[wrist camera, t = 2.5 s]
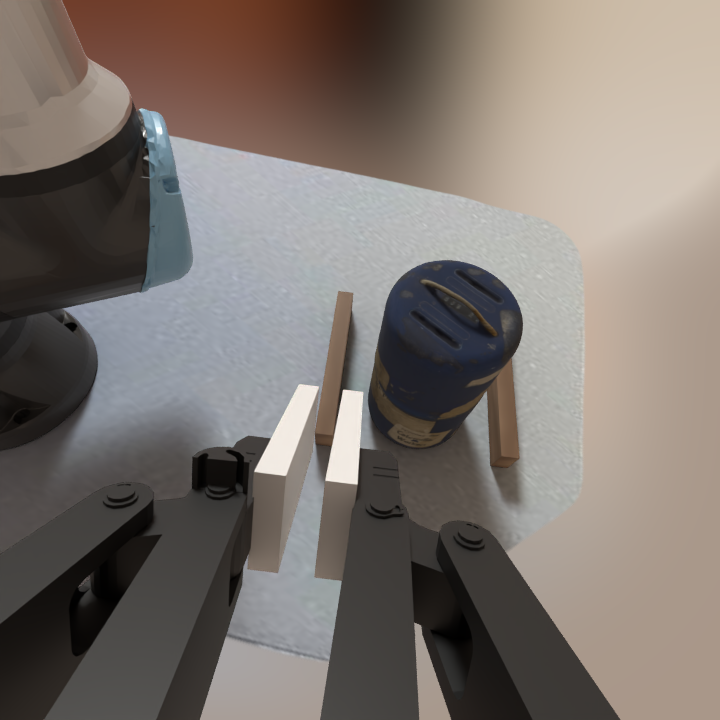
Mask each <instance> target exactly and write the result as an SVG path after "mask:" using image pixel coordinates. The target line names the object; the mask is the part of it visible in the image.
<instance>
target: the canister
mask: <svg viewBox="0 0 720 720" xmlns="http://www.w3.org/2000/svg"><path fill="white" fill-rule="evenodd" d="M522 330H523V321H522V314H521V310H520V308H519V305H518V303H517V300H516V299H515V297H514V295H513V294H512V293H511V291H510V290H509V289H508V288H507V286H506V285H504V284H503V283H502V282H501V281H500V280H499V279H498V278H497V277H495V276H494V275H492V274H491V273H489V272H488V271H486V270H484V269H482V268H480V267H477V266H475V265H472V264H468V263H464V262H459V261H452V260H442V261H433V262H428V263H424V264H422V265H419V266H417V267H415V268H413V269H411V270H410V271H408V272H407V273H406V274H404V275H403V276H402V277H401V278H400V279H399V280H398V281H397V282H396V284H395V285H394V287H393V288H392V290H391V292H390V294H389V297H388V299H387V303H386V307H385V311H384V316H383V321H382V326H381V330H380V334H379V339H378V344H377V349H376V353H375V363H374V368H373V373H372V378H371V383H370V388H369V394H368V405H369V411H370V414H371V417H372V419H373V421H374V423H375V424H376V426H377V427H378V429H379V430H380V431H381V432H382V433H383V434H384V435H385V436H386V437H387V438H389V439H390V440H392V441H393V442H395V443H397V444H399V445H402V446H405V447H409V448H416V449H423V448H430V447H434V446H437V445H439V444H441V443H443V442H445V441H446V440H448V439H449V438H450V437H451V436H452V435H453V434H454V433H455V432H456V431H457V429H458V428H459V426H460V425H461V423H462V422H463V421H464V419H465V418H466V417H467V416H468V415H469V414H470V413H471V411H472V410H473V409H474V408H475V406H476V405H477V404H478V402H479V401H480V399H481V398H482V396H483V395H484V393H485V392H486V391H487V389H488V388H489V387H490V385H491V384H492V383H493V381H494V380H495V379H496V377H497V376H498V375H499V373H500V372H501V371H502V369H503V368H504V367H505V366H506V364H507V363H508V362H509V360H510V359H511V357H512V356H513V355H514V353H515V352H516V350H517V348H518V346H519V343H520V340H521V336H522Z"/></svg>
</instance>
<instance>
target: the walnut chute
mask: <svg viewBox="0 0 720 720" xmlns="http://www.w3.org/2000/svg"><path fill="white" fill-rule="evenodd" d="M352 302H353V293H349V292H341V291H338V296H337V302H336V308H335V314H334V320H333V326H332V332H331V338H330V344H329V350H328V357H327V363H326V369H325V375H324V381H323V387H322V393H321V399H320V405H319V411H318V417H317V423H316V429H315V443H316V444H317V445H326V446H332V444H333V439H334V432H335V425H336V418H337V411H338V404H339V397H340V390H341V383H342V376H343V369H344V362H345V354H346V347H347V340H348V333H349V326H350V319H351V312H352ZM487 400H488V422H489V444H490V466H496V467H504V468H508V467H509V466H510V465H512V464H513V463H514V462H515V461H517V460H518V459H519V446H518V434H517V421H516V409H515V396H514V384H513V371H512V359H510V360H509V362H508V363H507V364H506V366H505V367H504V368H503V369H502V371H501V372H500V373H499V375H498V376H497V377H496V379H495V380H494V381H493V383H492V384H491V385H490V387H489V388H488V389H487Z"/></svg>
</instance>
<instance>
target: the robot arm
mask: <svg viewBox="0 0 720 720" xmlns="http://www.w3.org/2000/svg"><path fill="white" fill-rule="evenodd" d="M192 263H193V253H192V245H191V239H190V234H189V228H188V223H187V218H186V213H185V208H184V203H183V199H182V194H181V190H180V188H179V181H178V176H177V172H176V165H175V161H174V156H173V152H172V147H171V143H170V139H169V135H168V131H167V128H166V124H165V121H164V119H163V117H162V116H161V115H160V114H159V113H157V112H153V111H148V110H146V109H145V110H143V109H139V111H136V109H135V106H134V103H133V101H132V98H131V96H130V93H129V91H128V88H127V87H126V85H125V84H124V83H123V81H122V80H121V79H120V78H119V77H118V76H116V75H115V74H113V73H112V72H110V71H109V70H106V69H105V68H103V67H101V66H100V65H98V64H97V63H95V62H93V61H91V60H90V59H88V58H87V57H86V55H85V54H84V51H83V49H82V47H81V44H80V42H79V40H78V37H77V35H76V33H75V30H74V28H73V26H72V23H71V21H70V19H69V16H68V14H67V12H66V10H65V7H64V5H63V2H62V0H0V450H5V449H9V448H13V447H16V446H20V445H22V444H25V443H27V442H30V441H32V440H34V439H36V438H38V437H40V436H42V435H44V434H46V433H47V432H49V431H50V430H52V429H53V428H55V427H56V426H57V425H59V424H60V423H61V422H63V421H64V420H65V419H66V418H67V417H68V416H69V415H70V414H71V413H72V412H73V411H74V410H75V409H76V408H77V407H78V406H79V404H80V403H81V402H82V400H83V399H84V398H85V396H86V394H87V393H88V391H89V389H90V387H91V385H92V383H93V380H94V377H95V374H96V369H97V351H96V347H95V344H94V341H93V339H92V338H91V336H90V334H89V333H88V332H87V331H86V330H85V328H84V327H83V326H82V325H81V324H80V323H79V322H78V320H77V319H76V318H75V317H73V316H72V315H71V314H70V313H68V312H67V311H65V310H64V309H62V308H67V307H71V306H76V305H81V304H85V303H90V302H94V301H99V300H104V299H108V298H113V297H118V296H122V295H127V294H131V293H136V292H140V293H142V292H145V291H147V290H148V289H149V288H151V287H155V286H158V285H162V284H165V283H168V282H172V281H175V280H178V279H180V278H182V277H183V276H184V275H185V274H186V273H188V272H189V270H190V268H191V266H192ZM318 393H319V387H318V386H310V385H302V384H299V386H298V388H297V390H296V391H295V393H294V395H293V397H292V399H291V401H290V403H289V405H288V407H287V409H286V411H285V413H284V415H283V417H282V419H281V420H280V422H279V424H278V426H277V428H276V430H275V432H274V434H273V436H272V438H263V437H255V436H247V437H245V438H243V439H242V440H240V441H238V442H237V443H236V444H235V446H234V447H233V448H231V447H214V448H208V449H205V450H203V451H200V452H198V453H197V454H196V455H194V456H193V461H192V489H191V490H190V492H189V494H188V495H187V497H184V498H179V499H170V500H157V501H154V492H153V491H152V489H151V488H150V487H148V486H146V485H144V484H141V483H132V482H126V483H124V482H123V483H117V484H114V485H110V486H107V487H104V488H102V489H100V490H98V491H96V492H95V493H93V494H92V495H90V496H88V497H87V498H85V499H84V500H82V501H81V502H79V503H78V504H76V505H75V506H73V507H72V508H70V509H69V510H67V511H66V512H64V513H63V514H61V515H59V516H58V517H56V518H55V519H53V520H52V521H50V522H49V523H47V524H46V525H44V526H43V527H41V528H40V529H38V530H37V531H35V532H34V533H32V534H30V535H29V536H27V537H26V538H24V539H23V540H21V541H20V542H18V543H17V544H15V545H14V546H12V547H11V548H9V549H8V550H6V551H5V552H3V553H1V554H0V720H200V717H201V714H202V710H203V707H204V704H205V701H206V698H207V695H208V691H209V688H210V685H211V682H212V679H213V675H214V672H215V669H216V666H217V663H218V659H219V656H220V653H221V650H222V647H223V643H224V640H225V637H226V634H227V631H228V628H229V624H230V621H231V618H232V615H233V612H234V609H235V605H236V602H237V599H238V596H239V593H240V589H241V586H242V578H243V566H244V564H245V561H246V559H247V556H248V554H249V556H248V569H250V570H258V571H267V572H275V573H278V570H279V567H280V563H281V560H282V556H283V553H284V549H285V546H286V542H287V539H288V535H289V532H290V528H291V525H292V521H293V518H294V514H295V511H296V507H297V504H298V501H299V497H300V494H301V490H302V487H303V483H304V480H305V476H306V473H307V469H308V466H309V462H310V459H311V455H312V452H313V442H314V432H315V422H316V412H317V403H318ZM362 402H363V392H358V391H350V390H343V394H342V399H341V404H340V409H339V414H338V419H337V424H336V429H335V434H334V439H333V444H332V449H331V454H330V459H329V464H328V469H327V475H326V480H325V488H324V497H323V505H322V514H321V523H320V532H319V541H318V550H317V559H316V568H315V577H316V578H324V579H332V580H341V581H342V584H341V591H340V597H339V603H338V610H337V616H336V623H335V629H334V635H333V642H332V648H331V655H330V661H329V667H328V674H327V681H326V687H325V693H324V700H323V706H322V712H321V718H320V720H419V708H418V690H417V671H416V670H417V669H416V650H415V630H414V622H415V623H417V624H419V625H421V627H422V635H423V637H424V640H425V643H426V646H427V649H428V652H429V655H430V658H431V661H432V664H433V667H434V670H435V673H436V676H437V679H438V682H439V685H440V688H441V690H442V693H443V696H444V699H445V702H446V705H447V708H448V711H449V714H450V717H451V720H620V718H619V717H618V716H617V714H616V713H615V711H614V710H613V708H612V707H611V705H610V704H609V703H608V701H607V700H606V698H605V697H604V695H603V694H602V692H601V691H600V690H599V688H598V686H597V685H596V684H595V682H594V681H593V679H592V678H591V676H590V675H589V673H588V672H587V670H586V669H585V668H584V666H583V665H582V663H581V662H580V660H579V659H578V657H577V656H576V654H575V653H574V651H573V650H572V649H571V647H570V646H569V644H568V643H567V641H566V640H565V638H564V637H563V635H562V634H561V633H560V631H559V630H558V628H557V627H556V625H555V624H554V622H553V621H552V619H551V618H550V616H549V615H548V614H547V612H546V611H545V609H544V608H543V606H542V605H541V603H540V602H539V601H538V599H537V598H536V596H535V595H534V593H533V592H532V590H531V589H530V587H529V586H528V584H527V583H526V582H525V580H524V579H523V577H522V576H521V574H520V573H519V571H518V570H517V568H516V567H515V566H514V564H513V563H512V561H511V560H510V558H509V557H508V555H507V554H506V552H505V551H504V549H503V548H502V547H501V545H500V544H499V542H498V541H497V539H496V538H495V537H494V536H493V535H492V534H491V533H490V532H489V531H487V530H486V529H484V528H482V527H481V526H479V525H476V524H473V523H470V522H465V521H452V522H448V523H446V524H445V525H443V526H442V528H441V530H440V532H439V533H438V532H435V531H432V530H429V529H427V528H424V527H422V526H419V525H418V524H416V523H415V522H413V521H412V520H411V519H409V515H408V512H407V509H406V507H405V506H404V505H403V504H402V501H401V492H400V483H399V474H398V465H397V460H396V459H395V458H394V457H393V455H392V454H391V453H390V452H386V451H378V450H370V449H362V448H360V435H361V419H362ZM89 575H90V579H89V580H88V581H87V582H86V583H85V584H84V585H82V586H81V587H79V588H78V586H79V585H80V584H81V583H82V581H83V580H84V579H85V578H86V577H88V576H89Z"/></svg>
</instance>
